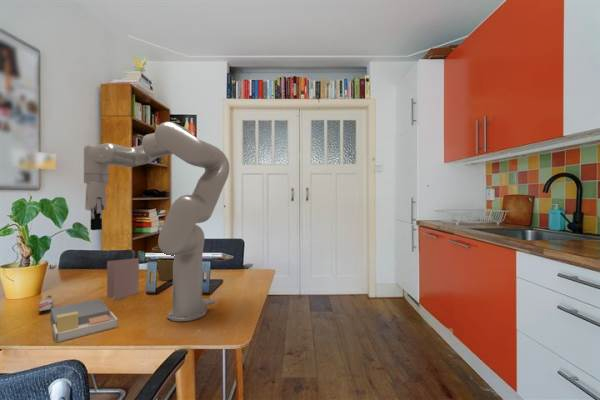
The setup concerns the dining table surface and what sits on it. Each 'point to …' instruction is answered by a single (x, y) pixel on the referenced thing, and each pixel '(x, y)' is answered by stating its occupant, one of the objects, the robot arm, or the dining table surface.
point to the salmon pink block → (98, 319)
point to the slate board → (81, 311)
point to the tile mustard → (67, 321)
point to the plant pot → (164, 267)
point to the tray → (85, 329)
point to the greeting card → (122, 278)
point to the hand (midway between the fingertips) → (96, 229)
